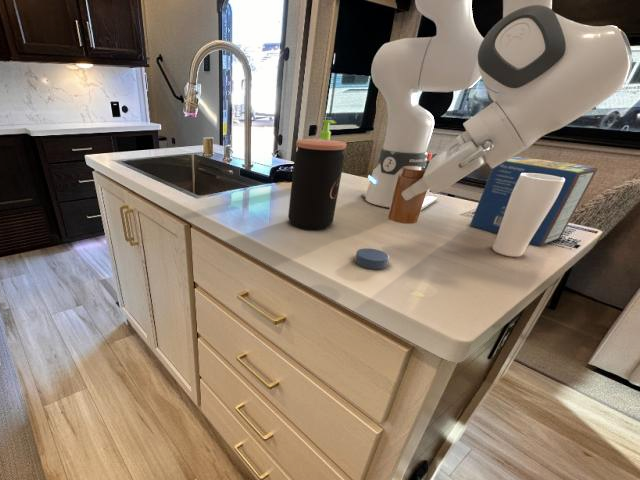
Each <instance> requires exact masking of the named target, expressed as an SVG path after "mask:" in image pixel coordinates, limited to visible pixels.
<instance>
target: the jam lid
mask: <svg viewBox="0 0 640 480" xmlns="http://www.w3.org/2000/svg"><path fill="white" fill-rule="evenodd" d="M389 258H390V256H389V255H388V253H386V252H384V251H382V250H380V249H375V248H367V247H366V248H360V249H358V250H356V252H355V256H354V262H355V264H357V266H360V267H362V268H365V269H368V270H383V269H385V268H387V265H388V263H389Z"/></svg>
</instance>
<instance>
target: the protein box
mask: <svg viewBox="0 0 640 480" xmlns="http://www.w3.org/2000/svg"><path fill="white" fill-rule="evenodd" d="M598 170H599V167H597V166H591V165H582V164H575V163H567V162H560V161H552V160H545V159H539V158H538V159H537V158H531V157H525V156H513V157H512V158H510V159H508V160H506V161H505V162H503V163H501V164H500V165H498V166H496V167H495V168H493V169H492V168H491V171H490V174H489V176H488V178H487V181H486V184H485V186H484V188H483V191H482V194H481V196H480V198H479V201H478V204H477V206H476V209H475V210H474V213H473V216H472V218H471V221H470V223H469V226H471V227H473V228H478V229H481V230H483V231H487V232H491V233H493V234H496V235H497V234H498V231H499V228H500V225H501V222H502V219H503V216H504V213H505V210H506V207H507V204H508V201H509V199H510V196H511V193H512V191H513V189H514V186H515V184H516V182H517V180H518V178H519V176H520V174H522V173H538V174H546V175H553V176H558V177H561V178H564V179H565V182H564V184H563V187H562V189H561V191H560V193H559V195H558V197H557V199H556V201H555V202H554V204H553V206H552V207H551V209H550V211H549V212H548V214H547V215H546V217H545V219H544V220H543V222H542V223H541V225H540V226H539V228H538V230H537V231H536V233H535V234H534V236H533V238H532V239H531V241H530V242H529V244H531V245H533V246H537V247H540V246H544V245H546V244H549V243H551V242H554V241H556V240H559V239H561V238H562V236H563V235H564V233H565V231H566V228H567V227H568V225H569V223H570V221H571V219H572V217H573V216H574V214H575V212H576V210H577V208H578V206H579V205H580V203H581V201H582V199H583V197H584V196H585V194H586V192H587V190H588V188H589V186H590V184H591V183H592V181H593V179H594V177H595V175H596V173H597V171H598Z"/></svg>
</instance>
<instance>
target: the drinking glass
mask: <svg viewBox="0 0 640 480" xmlns="http://www.w3.org/2000/svg"><path fill="white" fill-rule="evenodd" d="M564 182H565V179H564V178H561V177H558V176H553V175H546V174H538V173H522V174H520V176H519V178H518V180H517V182H516V184H515V186H514V189H513V191H512V193H511V196H510V199H509V201H508V204H507V207H506V210H505V213H504V216H503V219H502V222H501V225H500V228H499V231H498V234H497V233H496V236H495V239H494V242H493V244H492V246H491V247H492V251H494V252H495V253H496V254H499V255H501V256H506V257H511V258H513V257H514V258H517V257H518V258H519V257H521V256H523V255H524V253H525V252H526V249H527V248H528V245H529V244H530V243H529V242H530V241H531V239H532V238H533V236H534V234H535V233H536V231H537V230H538V228H539V226H540V225H541V223H542V222H543V220H544V219H545V217H546V215H547V214H548V212H549V211H550V209H551V207H552V206H553V204H554V202H555V201H556V199H557V197H558V195H559V193H560V191H561V189H562V187H563V184H564Z"/></svg>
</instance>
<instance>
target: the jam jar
mask: <svg viewBox="0 0 640 480" xmlns="http://www.w3.org/2000/svg"><path fill="white" fill-rule="evenodd" d="M426 168H427V167H426V166H425V167H419V166H404V167H403V168H402V174H399V175H398V178H397V182H396V186H395V189H394V193H393V197H392V201H391V205H390V208H389V209H388V213H387V217H386V218H387V219H388V220H389V221H391V222H394V223H397V224H403V225H413V224H416V223H417V224H418V221H419V218H420V214H421V211H422V210H421V208H422V205H423V202H424V198H425V195H426V192H427V191H425V192H423V193H420V194H418V195H416V196H414V197H413V198H411V199H409V200H405V199H404V198H403V196H402V192H403V191H404V190H405V189H406V188H408V187H409V186H411V185H413V184H414V183H416V182H417V181H419V180H420V179H421V178H423V175H424V173H425V171H426Z"/></svg>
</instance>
